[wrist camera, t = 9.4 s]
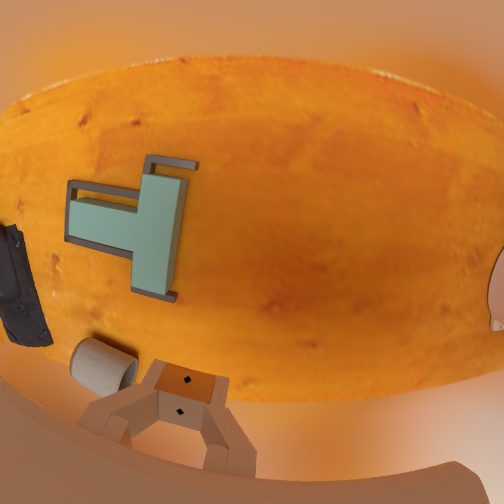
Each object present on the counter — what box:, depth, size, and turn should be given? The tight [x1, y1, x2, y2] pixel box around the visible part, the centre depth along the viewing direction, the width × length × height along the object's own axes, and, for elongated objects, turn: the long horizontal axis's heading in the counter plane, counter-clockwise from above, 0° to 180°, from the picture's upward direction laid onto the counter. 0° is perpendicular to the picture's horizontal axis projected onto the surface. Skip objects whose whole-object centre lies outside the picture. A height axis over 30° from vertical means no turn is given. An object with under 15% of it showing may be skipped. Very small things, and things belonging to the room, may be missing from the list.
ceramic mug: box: [70, 338, 138, 398], centre depth 32 cm, size 11×8×8 cm
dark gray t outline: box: [64, 154, 199, 303], centre depth 29 cm, size 16×16×1 cm
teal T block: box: [69, 173, 189, 295], centre depth 28 cm, size 13×12×3 cm
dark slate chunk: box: [0, 224, 53, 347], centre depth 31 cm, size 15×22×5 cm
